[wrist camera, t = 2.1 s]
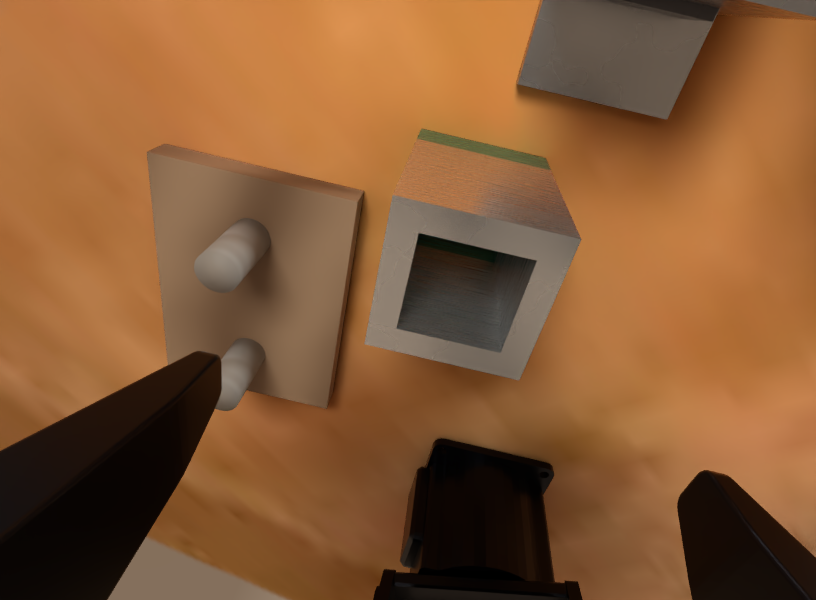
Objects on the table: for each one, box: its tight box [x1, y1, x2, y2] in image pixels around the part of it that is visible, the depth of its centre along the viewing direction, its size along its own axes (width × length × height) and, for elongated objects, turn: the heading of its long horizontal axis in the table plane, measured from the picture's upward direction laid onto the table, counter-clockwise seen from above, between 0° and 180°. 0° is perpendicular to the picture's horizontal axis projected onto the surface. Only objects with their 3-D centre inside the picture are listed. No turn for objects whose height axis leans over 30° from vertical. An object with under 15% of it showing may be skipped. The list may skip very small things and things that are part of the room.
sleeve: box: [365, 129, 581, 380], centre depth 16 cm, size 5×5×7 cm
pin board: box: [147, 144, 364, 411], centre depth 20 cm, size 8×11×4 cm
